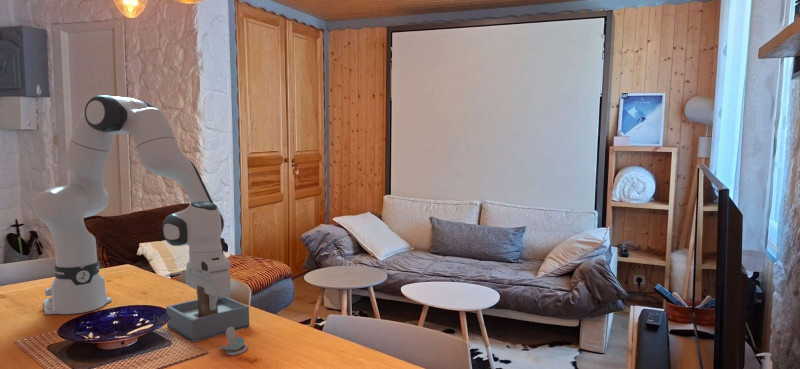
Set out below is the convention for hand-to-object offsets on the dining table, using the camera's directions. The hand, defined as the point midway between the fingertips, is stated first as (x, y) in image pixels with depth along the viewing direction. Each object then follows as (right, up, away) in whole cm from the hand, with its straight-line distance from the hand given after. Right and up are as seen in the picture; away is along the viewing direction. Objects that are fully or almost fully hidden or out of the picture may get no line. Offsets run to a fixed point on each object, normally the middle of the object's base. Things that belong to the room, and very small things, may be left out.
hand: (207, 307), depth 157 cm
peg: (0, -4, 0) cm, 4 cm away
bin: (0, -6, +1) cm, 6 cm away
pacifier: (+13, -8, -16) cm, 22 cm away
